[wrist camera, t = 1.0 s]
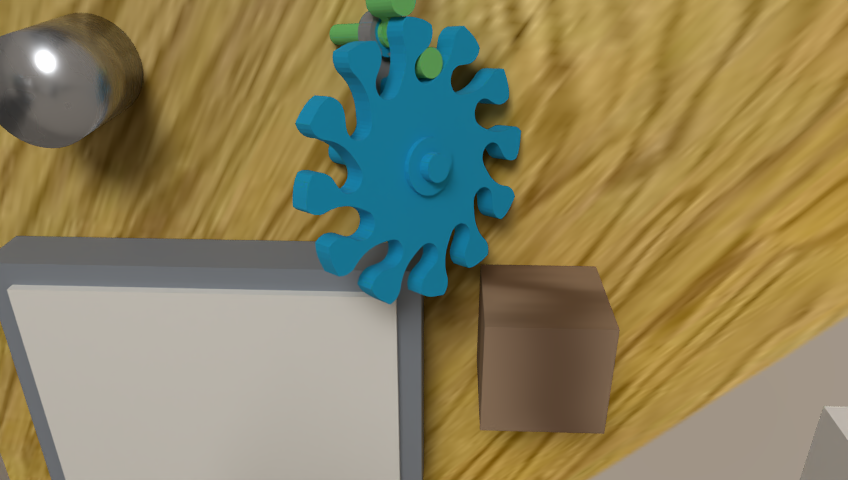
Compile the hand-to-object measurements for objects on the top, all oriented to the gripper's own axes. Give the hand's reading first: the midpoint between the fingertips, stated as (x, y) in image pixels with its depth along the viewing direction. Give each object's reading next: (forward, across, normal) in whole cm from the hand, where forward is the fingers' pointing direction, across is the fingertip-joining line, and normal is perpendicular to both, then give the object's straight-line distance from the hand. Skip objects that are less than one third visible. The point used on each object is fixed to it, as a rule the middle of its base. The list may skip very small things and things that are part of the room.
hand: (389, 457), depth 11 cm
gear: (+19, 0, 0) cm, 19 cm away
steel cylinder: (+18, -13, +2) cm, 23 cm away
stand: (+18, -9, -12) cm, 24 cm away
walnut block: (+19, +5, -9) cm, 21 cm away
